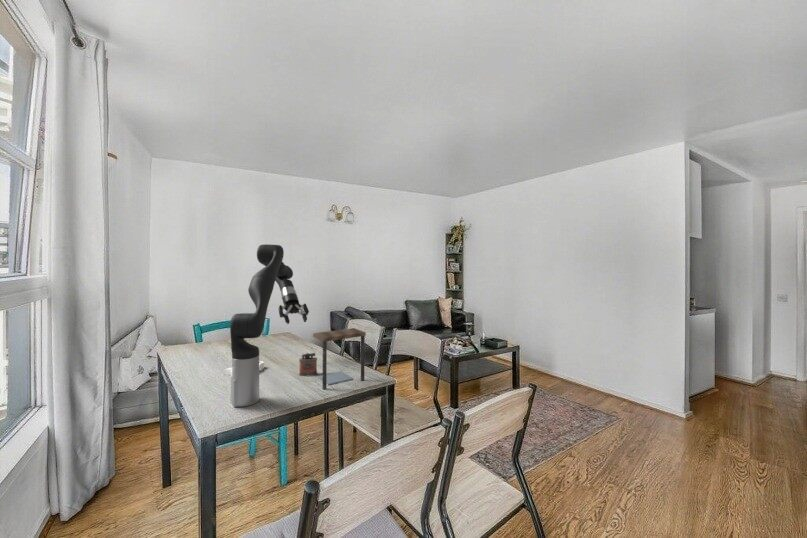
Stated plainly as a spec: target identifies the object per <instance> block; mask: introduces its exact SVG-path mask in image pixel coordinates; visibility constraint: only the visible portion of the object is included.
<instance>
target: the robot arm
mask: <svg viewBox="0 0 807 538" xmlns="http://www.w3.org/2000/svg"><path fill="white" fill-rule="evenodd" d="M284 254H285V253H284V248H283V246H281V245H280V244H260V245H259V246H258V247H257V249H256V258H257V261H258V263H260V264H261V265H262V266H265V267H263V268H262V269H260V270H258V271H257V272H256V273H255V274H254V275H253V276H252V277H251V280H250V284H249V286H248V291H247V292H248V295H249V297H250V299H251V300H252V302H253V305H254V306H255V309H256V310H255V312H251V313H250V312H249V313H248V312H247V313H244V312H243V313H235V314H233V315H232V317H231V319H230V325H229V330H230V332H229V334H230V349H231V350H230V352H231V365H232V366H231V367H232V377H231V376H230V402H231V404H232V406H233V408H237V407H241V408H242V407H247V406H248V407H249V406H251V405H255V404H257V403H258V402H260V372H259V361H260V348H259V347H258V346H256V345H254V344H251V343H249V342H248V341H246V340H245V339H256V338H259V337H261V336H262V333H263V331H264V327H265V323H266V317H267V311H268V306H269V302H270V301H271V297H272V294H273V290H274V286H275V282H276V283H277V285H278V287H279V291H280V295H281V299H282V303H283V305H282V304H280V305H279V306H278V313H279V318H284V322H285V323H286V324H287V325H289V324H290V318H289V314H290V315H292V314H297V315H300V316H301V317H302V320H303V322H304V323H306V322H307V320H308V317H307V316H308V315H309V313H310V310H309V308H308V305H307V304H306V303H303V304H300V302H299V298H298V295H297V291H296V289H295V286H294V284H293V281H292V280H290V279H292V278H293V276H294V272H293V269H292V268H291V267H290V266H289V265H286V264H285V263H284V261H283V260H284ZM284 310H285V313H284Z"/></svg>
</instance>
